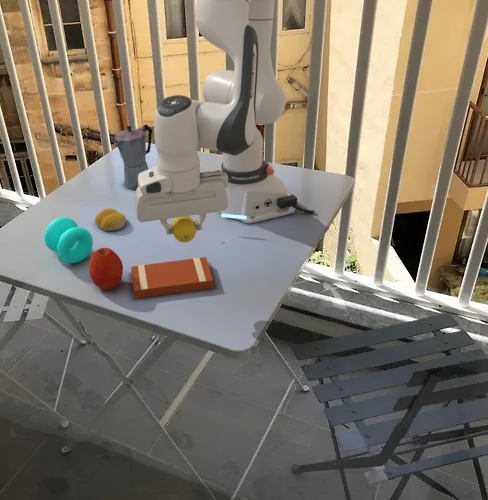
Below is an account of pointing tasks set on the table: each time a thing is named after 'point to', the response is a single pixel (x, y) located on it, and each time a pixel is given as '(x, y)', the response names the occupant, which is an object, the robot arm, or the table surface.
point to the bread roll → (110, 220)
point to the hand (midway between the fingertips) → (183, 230)
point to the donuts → (68, 240)
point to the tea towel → (171, 277)
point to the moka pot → (133, 153)
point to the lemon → (184, 228)
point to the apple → (106, 269)
